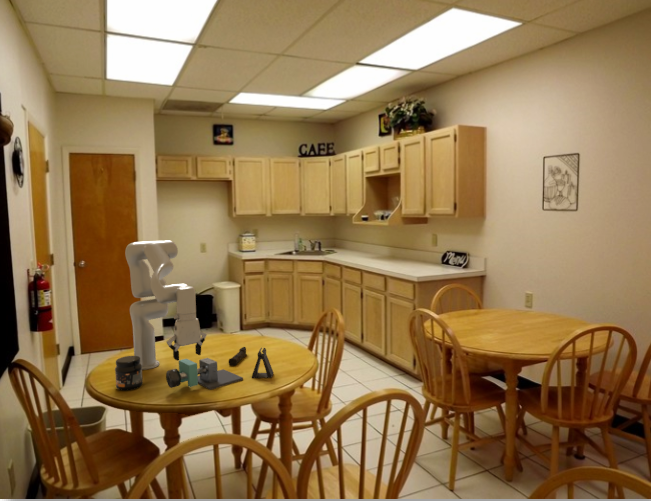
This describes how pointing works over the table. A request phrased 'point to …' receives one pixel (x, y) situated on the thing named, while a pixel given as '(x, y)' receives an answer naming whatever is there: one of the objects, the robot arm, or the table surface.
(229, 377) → the base plate
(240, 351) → the hand tool
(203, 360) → the bracket
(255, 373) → the phone stand
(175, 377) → the shaft
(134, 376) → the supplement container
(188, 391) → the table surface
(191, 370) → the spacer
